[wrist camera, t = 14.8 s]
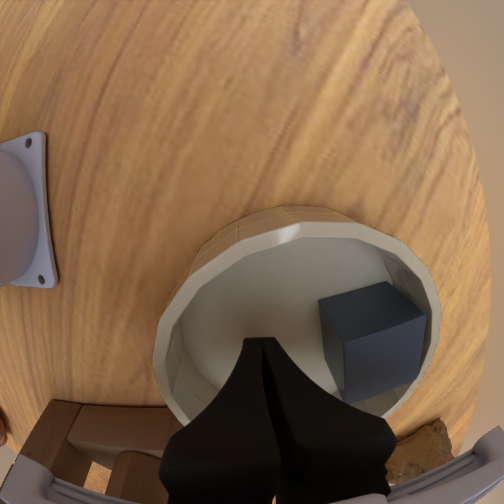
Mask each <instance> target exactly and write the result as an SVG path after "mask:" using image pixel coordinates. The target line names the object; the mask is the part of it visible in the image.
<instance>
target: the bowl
mask: <svg viewBox="0 0 504 504" xmlns="http://www.w3.org/2000/svg"><path fill="white" fill-rule="evenodd" d="M384 281H387V282H388V283H390V284H391V285H392V286H393V287H394V288H396V289H397V290H398V291H399V292H400V293H402V294H403V295H404V296H405V297H406V298H408V299H409V300H410V301H411V302H412V303H413V304H415V305H416V306H417V307H418V308H419V309H420V310H422V311H423V312H424V313H425V314H426V322H425V331H424V339H423V346H422V352H421V359H420V364H419V370H418V375H417V379H416V380H413V381H411V382H409V383H407V384H404V385H402V386H399V387H397V388H395V389H392V390H390V391H387V392H385V393H382V394H379V395H377V396H374V397H371V398H368V399H366V400H363V401H360V402H357V403H354V404H351V406H353V407H355V408H357V409H359V410H362V411H364V412H367V413H370V414H372V415H375V416H378V417H381V418H384V419H386V418H388V417H389V416H390V415H391V414H392V413H393V412H395V411H396V410H397V409H398V408H399V407H400V406H401V405H402V404H403V403H404V402H405V401H406V400H407V399H408V398H409V396H410V395H411V394H412V392H413V391H414V390H415V388H416V387H417V385H418V384H419V383H420V381H421V380H422V378H423V377H424V375H425V374H426V372H427V370H428V367H429V365H430V363H431V360H432V357H433V355H434V352H435V350H436V347H437V344H438V340H439V333H440V318H441V304H440V300H439V297H438V294H437V291H436V287H435V284H434V281H433V278H432V275H431V272H430V271H429V269H428V268H427V267H426V266H425V265H424V264H423V262H422V261H421V260H420V259H419V258H418V257H417V256H416V255H415V254H414V252H413V251H412V250H411V249H410V248H409V247H408V246H407V245H406V244H405V243H404V242H402V241H401V240H399V239H397V238H395V237H393V236H391V235H389V234H387V233H385V232H383V231H381V230H378V229H376V228H374V227H372V226H370V225H368V224H366V223H364V222H361V221H359V220H356V219H354V218H352V217H349V216H347V215H344V214H342V213H339V212H336V211H334V210H331V209H329V208H325V207H316V206H306V205H292V206H280V207H275V208H270V209H265V210H262V211H259V212H256V213H253V214H250V215H247V216H245V217H243V218H241V219H239V220H237V221H235V222H233V223H231V224H230V225H228V226H227V227H225V228H224V229H222V230H221V231H219V232H218V233H216V234H215V235H214V236H213V237H212V238H211V239H210V240H209V241H207V242H206V243H205V244H204V245H203V246H202V247H201V248H200V249H199V251H198V252H197V253H196V255H195V256H194V257H193V258H192V260H191V262H190V263H189V265H188V266H187V268H186V270H185V271H184V273H183V274H182V275H181V277H180V278H179V280H178V282H177V284H176V286H175V288H174V290H173V292H172V294H171V296H170V298H169V300H168V303H167V305H166V307H165V309H164V311H163V313H162V315H161V317H160V320H159V323H158V328H157V333H156V338H155V344H154V349H153V355H152V364H153V369H154V373H155V377H156V381H157V384H158V388H159V392H160V395H161V397H162V399H163V400H164V402H165V403H166V404H167V406H168V407H169V408H170V410H171V411H172V412H173V414H174V415H175V416H176V418H177V419H178V420H179V422H180V423H182V425H184V426H186V425H187V424H188V423H190V422H191V421H192V420H193V419H194V418H195V417H196V416H198V415H199V414H200V413H201V412H202V411H203V410H204V409H205V408H206V407H207V406H208V405H209V404H210V402H211V401H212V400H213V399H214V398H215V396H216V395H217V394H218V393H219V391H220V390H221V389H222V387H223V386H224V384H225V383H226V381H227V379H228V378H229V376H230V374H231V372H232V370H233V369H234V367H235V364H236V362H237V360H238V357H239V355H240V352H241V349H242V345H243V339H245V338H251V337H275V338H276V339H277V340H278V342H279V343H280V345H281V346H282V348H283V349H284V350H285V352H286V353H287V354H288V355H289V357H290V358H291V359H292V360H293V361H294V362H295V363H296V365H297V366H298V367H299V368H300V369H301V370H302V371H303V372H304V373H305V374H306V375H307V376H308V377H309V378H310V379H311V380H313V381H314V382H315V383H316V384H317V385H319V386H320V387H321V388H322V389H324V390H325V391H327V392H328V393H330V394H331V395H333V396H335V397H336V398H338V399H339V400H341V401H343V400H342V398H341V396H340V393H339V391H338V389H337V386H336V384H335V382H334V379H333V377H332V375H331V372H330V370H329V368H328V366H327V363H326V361H325V359H324V350H323V341H322V332H321V323H320V315H319V307H318V300H319V299H323V298H327V297H331V296H334V295H338V294H342V293H345V292H349V291H353V290H356V289H360V288H363V287H367V286H370V285H374V284H377V283H380V282H384Z"/></svg>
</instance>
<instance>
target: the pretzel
mask: <svg viewBox="0 0 504 504" xmlns="http://www.w3.org/2000/svg"><path fill="white" fill-rule="evenodd" d="M7 439H8V438H7V433H6V431H5V429H4V425H3V422H2V419H1V418H0V447H1V446H2V445H4V444H5V443H6V442H7Z"/></svg>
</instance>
